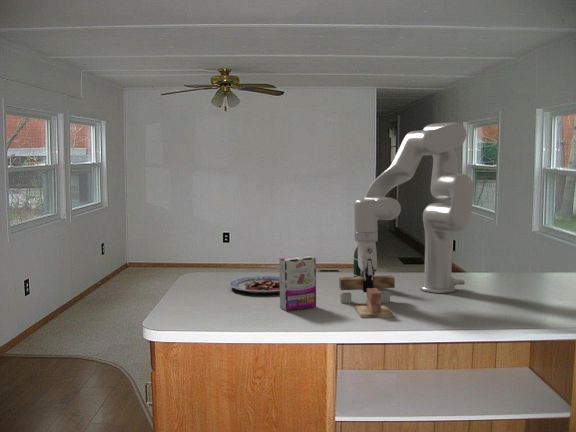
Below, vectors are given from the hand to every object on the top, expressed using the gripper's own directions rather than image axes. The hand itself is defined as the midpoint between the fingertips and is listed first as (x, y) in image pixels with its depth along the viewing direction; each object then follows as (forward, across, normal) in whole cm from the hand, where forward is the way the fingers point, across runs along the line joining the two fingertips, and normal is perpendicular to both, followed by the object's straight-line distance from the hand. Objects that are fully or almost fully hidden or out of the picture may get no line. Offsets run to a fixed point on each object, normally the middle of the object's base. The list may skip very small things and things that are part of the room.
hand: (366, 290), depth 194 cm
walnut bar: (-1, 0, 0) cm, 1 cm away
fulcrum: (+4, -14, +1) cm, 15 cm away
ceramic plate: (+4, +22, +34) cm, 41 cm away
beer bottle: (+5, +22, -3) cm, 22 cm away
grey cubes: (+4, 0, +1) cm, 4 cm away
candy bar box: (+3, -6, +24) cm, 25 cm away
